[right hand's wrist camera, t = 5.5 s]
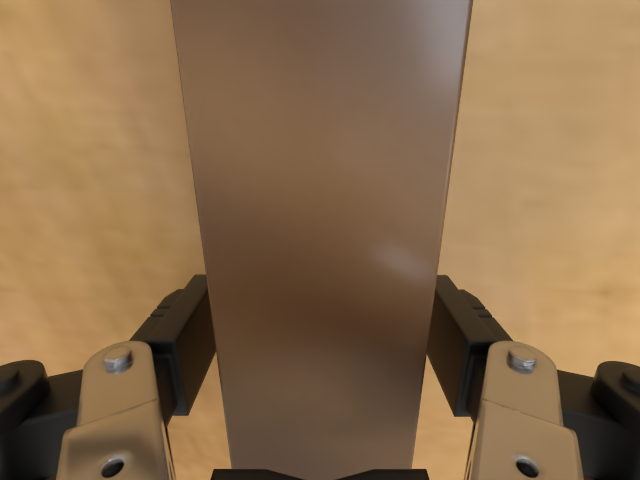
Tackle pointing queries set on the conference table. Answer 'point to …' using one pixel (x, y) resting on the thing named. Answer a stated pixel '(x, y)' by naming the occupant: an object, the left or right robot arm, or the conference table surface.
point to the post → (321, 216)
